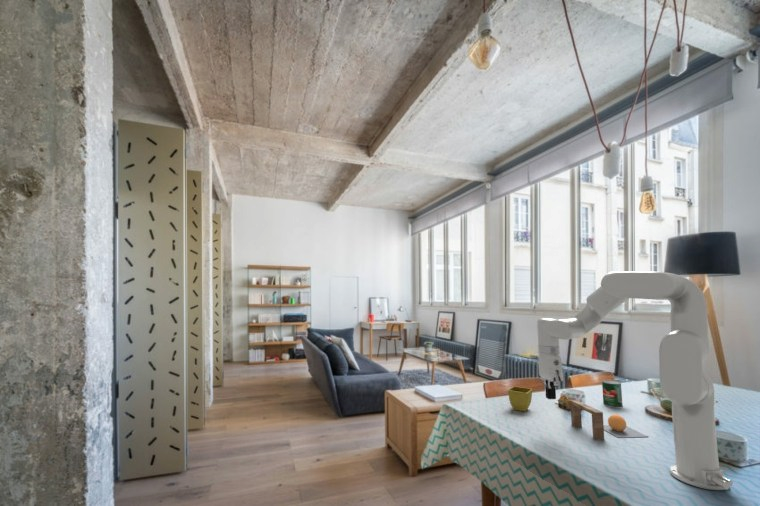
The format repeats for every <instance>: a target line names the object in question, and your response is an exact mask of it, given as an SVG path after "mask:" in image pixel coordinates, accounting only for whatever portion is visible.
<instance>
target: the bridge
mask: <svg viewBox="0 0 760 506" xmlns="http://www.w3.org/2000/svg"><path fill="white" fill-rule="evenodd" d="M580 401H581V400H580ZM580 401H578V400H570V402H571V410H570V418H571V422H570V423H571V426H572V425H573V427H574V428H582V426H583V423H582V410H583V411H585V412H587V413H589V414H591V424H592V425H591V426H592V438H593V439H594V440H596V441H605V430H604V425H605V424H604V412H603V411H601V410H599V409H596V408H595V407H593V406H591V405H588V404H586V403H584V402H582V401H581V402H580Z"/></svg>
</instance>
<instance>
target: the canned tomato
mask: <svg viewBox="0 0 760 506" xmlns="http://www.w3.org/2000/svg"><path fill="white" fill-rule="evenodd" d="M601 387H602V388H601V389H602V403H603V405H604V406H606V407H609V406H610V408H614V407H622V408H623V394H622V391H623V390H622V382H620V381H617V380H611V379H602V380H601Z"/></svg>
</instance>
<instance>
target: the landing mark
mask: <svg viewBox="0 0 760 506" xmlns="http://www.w3.org/2000/svg"><path fill="white" fill-rule="evenodd" d="M604 432H606V433H609V434H610V435H612V436H614V437H616V439H617V438H618V439H625V438H630V439H631V438H633V439H634V438H649V436H648V435H646V434H644V433H642V432H639V431H638V430H636V429H634V428H632V427H629V426H628V425H626V428H625V429H624V430H623V431H615V430H613V429H612V428H611V427H610V426H609V424H607V425H605V424H604Z"/></svg>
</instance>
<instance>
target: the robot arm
mask: <svg viewBox="0 0 760 506" xmlns="http://www.w3.org/2000/svg"><path fill="white" fill-rule="evenodd" d="M629 299H638V300H640V299H643V300H656V301H657V300H658V301H659V300H660V301H663V300H665V301H669V302H670V303H669V304H670V312H669V313H670V315H669V316H670V318H669V319H670V330H669V331H670V332H668V333H666V334H665V335H664V336H663V337H662V339H660V343H659V346H658V347H659V349H658V356H659V357H658V358H659V359H658V360H659V361H658V363H659V367H658V370H659V371H658V372H659V373H658V374H659V375H658V376H659V384H660V385H659V386H660V388H661V391H662V393H663V394H664V395H665V397H666V398H667V399H669V400H670V402H671V414H672V415H671V417H672V427H673V429H672V430H673V439H674V440H673V441H674V443H673V444H674V453H675V455H674V456H675V464H674V465H671V466H670V467H669V472H670V474H671V475H672V476H673V478H675V479H677V480H679V481H681V482H683V483H685V484H688V485H691V486H694V487H697V488H700V489H704V490H711V491H724V490H725V491H726V490H729V489H730V487H731V486H733V484H734V483H733V481H732V480H731V479H728V478H727V477H725V476H724V470H723V469H720V464H719V463H720V462H719V452H718V451H719V450H718V441H717V430H716V427H717V425H716V417H715V415H716V413H715V387H714V383H713V380H712V378H711V377H710V376H709V375H708V373H706V372H705V371H704V370H703V361H704V360H705V359H706V358H707V357H708V355H709V354H710V344H709V343H710V342H709V341H710V340H709V325H708V308H707V307H708V306H707V300H706V298H705V295H704V292H703V291H702V289H701V288H700V287H699V286H698V285H697V283H695V282H693V281H692V280H690V279H689V278H686V277H684V276H682V275H679V274H677V273H672V272H663V271H620V270H617V271H616V270H614V271H613V270H612V271H610V272H607V273H606V274H605V275H604V276H603V277H602V279H601V281H600V286H599V287H597V289H595V291H593V292H592V293H590V294H589V295H588V296H587V297H586V299H585V300H586V304H585V307H584V308H583V309H581V311H580V312H578V313H577V314H576V315H575V316H572V318H561V319H556V318H548V317H540V318H539V319H537V321H536V326H537V327H536V328H537V347H538V348H537V349H538V350H537V351H538V375H539V377H540V378H541V380H542V381H543V383H544V388H545V398H546V399H547V400H556V399H557V394H556V393H557V392H556V391H557V387H558V386H560V382H561V383H562V382H564V371H563V364H562V358H561V355H560V340H572V339H580V338H582V337H584V336H585V335H587V334H588V333H589V332H591V331H592V330H593V329H595V328H596V327H597V326H598V325H600V323H601V322H602V321H603V320H604V319H606V317H607V316H608V315H609V314H610V313H612V312H614V311H615V310H616V309H618V308H619V307H620V306H621V305H623V304H624V303H626V302H627V301H628V300H629Z"/></svg>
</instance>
